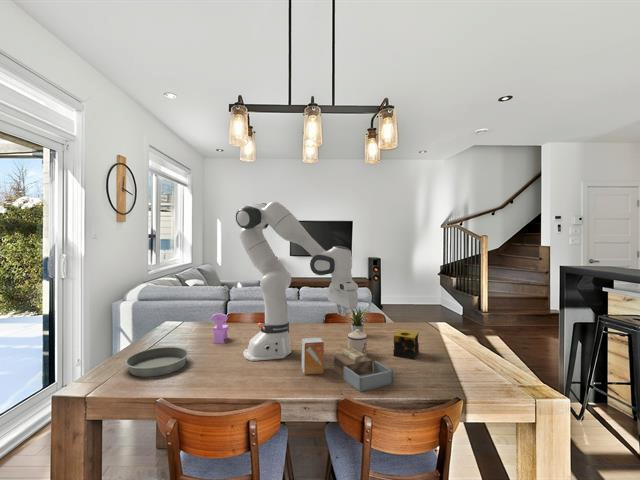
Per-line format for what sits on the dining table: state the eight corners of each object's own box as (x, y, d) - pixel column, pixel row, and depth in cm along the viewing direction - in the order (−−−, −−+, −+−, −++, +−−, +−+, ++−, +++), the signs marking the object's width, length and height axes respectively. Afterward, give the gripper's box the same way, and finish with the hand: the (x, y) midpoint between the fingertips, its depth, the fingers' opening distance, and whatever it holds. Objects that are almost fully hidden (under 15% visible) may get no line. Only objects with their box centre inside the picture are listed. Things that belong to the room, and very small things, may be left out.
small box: (304, 375, 136) (304, 342, 136) (301, 369, 142) (301, 338, 142) (323, 373, 138) (324, 341, 138) (320, 367, 144) (320, 336, 144)
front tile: (354, 363, 135) (354, 356, 135) (348, 359, 139) (349, 353, 139) (364, 361, 137) (364, 355, 137) (358, 357, 141) (358, 351, 141)
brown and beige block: (346, 378, 133) (346, 364, 133) (334, 369, 142) (334, 356, 142) (372, 373, 138) (372, 360, 138) (358, 364, 148) (358, 351, 147)
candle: (419, 352, 163) (419, 332, 163) (415, 360, 154) (415, 337, 153) (397, 349, 167) (397, 329, 167) (392, 356, 158) (393, 335, 158)
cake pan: (128, 360, 151) (128, 350, 151) (187, 353, 161) (187, 343, 161) (120, 383, 129) (120, 371, 129) (190, 373, 139) (190, 362, 138)
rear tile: (348, 358, 139) (348, 352, 139) (342, 355, 143) (342, 349, 143) (357, 357, 141) (357, 351, 141) (352, 353, 145) (352, 347, 145)
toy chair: (230, 338, 184) (230, 310, 184) (226, 343, 175) (226, 314, 175) (214, 338, 184) (214, 310, 184) (210, 343, 175) (210, 314, 175)
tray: (359, 392, 122) (359, 378, 122) (343, 379, 132) (343, 366, 132) (393, 384, 128) (393, 371, 128) (375, 372, 139) (375, 360, 139)
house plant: (376, 334, 191) (376, 305, 191) (366, 341, 179) (366, 310, 179) (353, 330, 199) (354, 302, 198) (342, 336, 187) (342, 307, 187)
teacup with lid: (366, 358, 155) (366, 333, 155) (346, 357, 156) (346, 332, 156) (367, 349, 167) (367, 326, 166) (348, 348, 168) (349, 325, 168)
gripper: (324, 280, 156) (324, 310, 157) (347, 287, 138) (346, 321, 138) (336, 280, 159) (336, 309, 159) (360, 286, 141) (360, 319, 141)
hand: (341, 315), depth 149 cm, fingers closed
